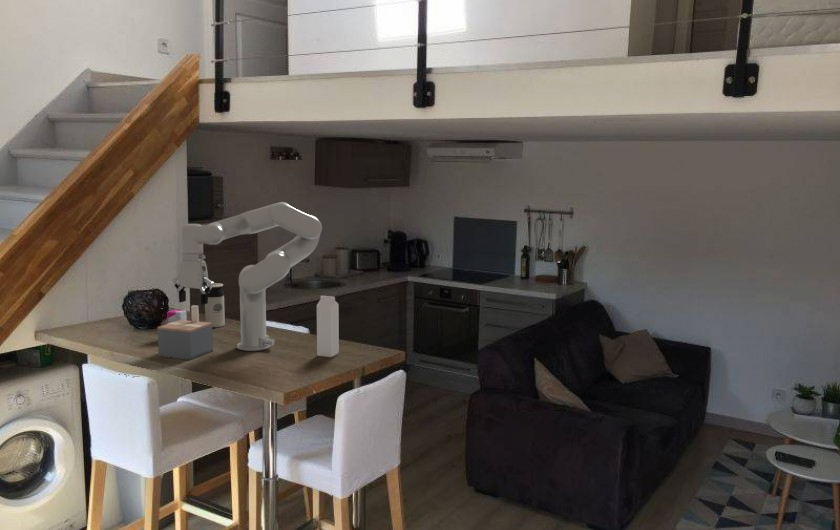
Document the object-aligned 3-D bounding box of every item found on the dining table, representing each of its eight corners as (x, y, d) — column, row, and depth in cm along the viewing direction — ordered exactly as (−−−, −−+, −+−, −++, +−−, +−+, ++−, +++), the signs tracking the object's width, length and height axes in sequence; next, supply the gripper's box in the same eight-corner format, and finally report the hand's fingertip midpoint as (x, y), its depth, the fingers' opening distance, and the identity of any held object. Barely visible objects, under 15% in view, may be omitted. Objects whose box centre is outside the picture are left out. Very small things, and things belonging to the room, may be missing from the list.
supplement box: (187, 337, 283) (186, 309, 281) (181, 341, 277) (180, 312, 275) (174, 336, 283) (172, 309, 281) (167, 340, 277) (166, 312, 276)
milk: (324, 351, 263) (324, 294, 260) (339, 353, 261) (338, 295, 258) (316, 355, 258) (316, 296, 255) (331, 357, 256) (331, 297, 253)
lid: (212, 324, 261) (211, 307, 260) (190, 332, 249) (189, 313, 248) (180, 321, 265) (180, 304, 264) (157, 329, 253) (156, 310, 252)
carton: (212, 351, 262) (212, 325, 261) (191, 359, 250) (190, 332, 249) (181, 347, 267) (180, 322, 265) (158, 356, 255) (157, 329, 253)
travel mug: (204, 324, 305) (203, 283, 303) (223, 323, 308) (222, 282, 306) (206, 328, 298) (205, 286, 296) (226, 326, 301) (224, 285, 299)
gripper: (218, 257, 260) (219, 303, 262) (179, 254, 265) (180, 299, 268) (206, 260, 253) (206, 306, 255) (166, 256, 258) (167, 302, 261)
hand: (193, 302), depth 261 cm, fingers open, 9 cm apart
